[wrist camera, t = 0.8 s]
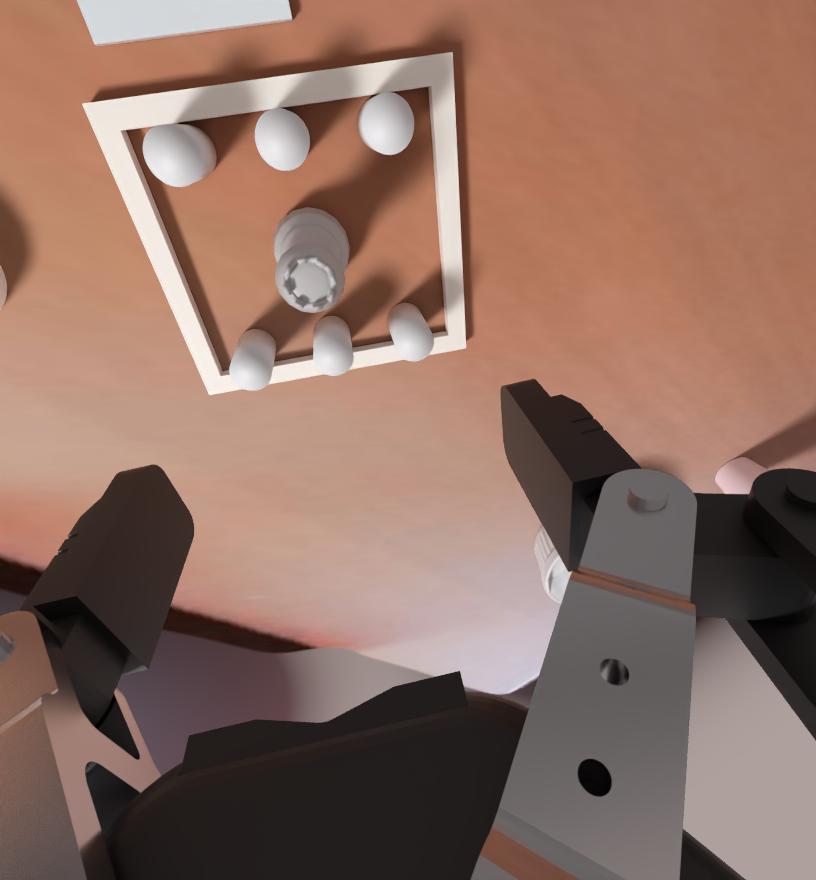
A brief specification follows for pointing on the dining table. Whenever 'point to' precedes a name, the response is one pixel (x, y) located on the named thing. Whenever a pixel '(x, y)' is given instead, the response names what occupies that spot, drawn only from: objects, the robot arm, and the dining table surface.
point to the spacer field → (285, 148)
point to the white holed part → (2, 288)
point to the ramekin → (551, 566)
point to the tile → (175, 17)
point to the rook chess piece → (310, 259)
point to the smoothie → (738, 475)
